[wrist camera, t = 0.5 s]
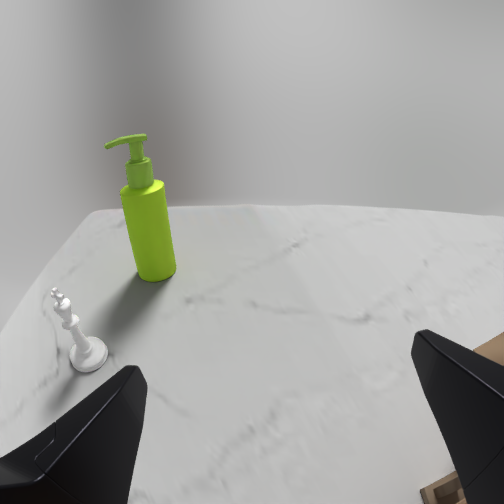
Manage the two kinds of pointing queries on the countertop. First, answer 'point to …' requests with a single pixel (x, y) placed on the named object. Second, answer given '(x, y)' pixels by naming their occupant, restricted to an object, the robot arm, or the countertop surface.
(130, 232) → the soap dispenser
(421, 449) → the countertop surface
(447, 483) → the stand
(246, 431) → the countertop surface
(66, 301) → the chess piece
